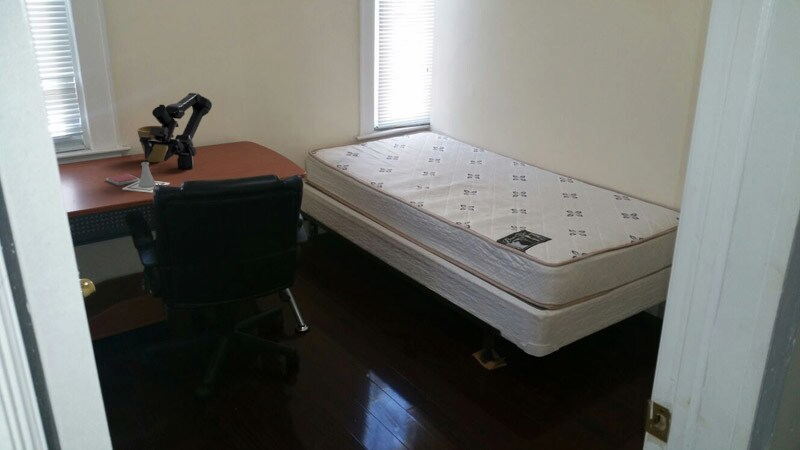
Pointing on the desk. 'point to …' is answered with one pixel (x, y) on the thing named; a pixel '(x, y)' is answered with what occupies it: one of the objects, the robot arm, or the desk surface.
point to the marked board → (136, 187)
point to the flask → (146, 176)
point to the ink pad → (122, 179)
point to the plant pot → (158, 150)
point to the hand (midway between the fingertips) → (155, 159)
